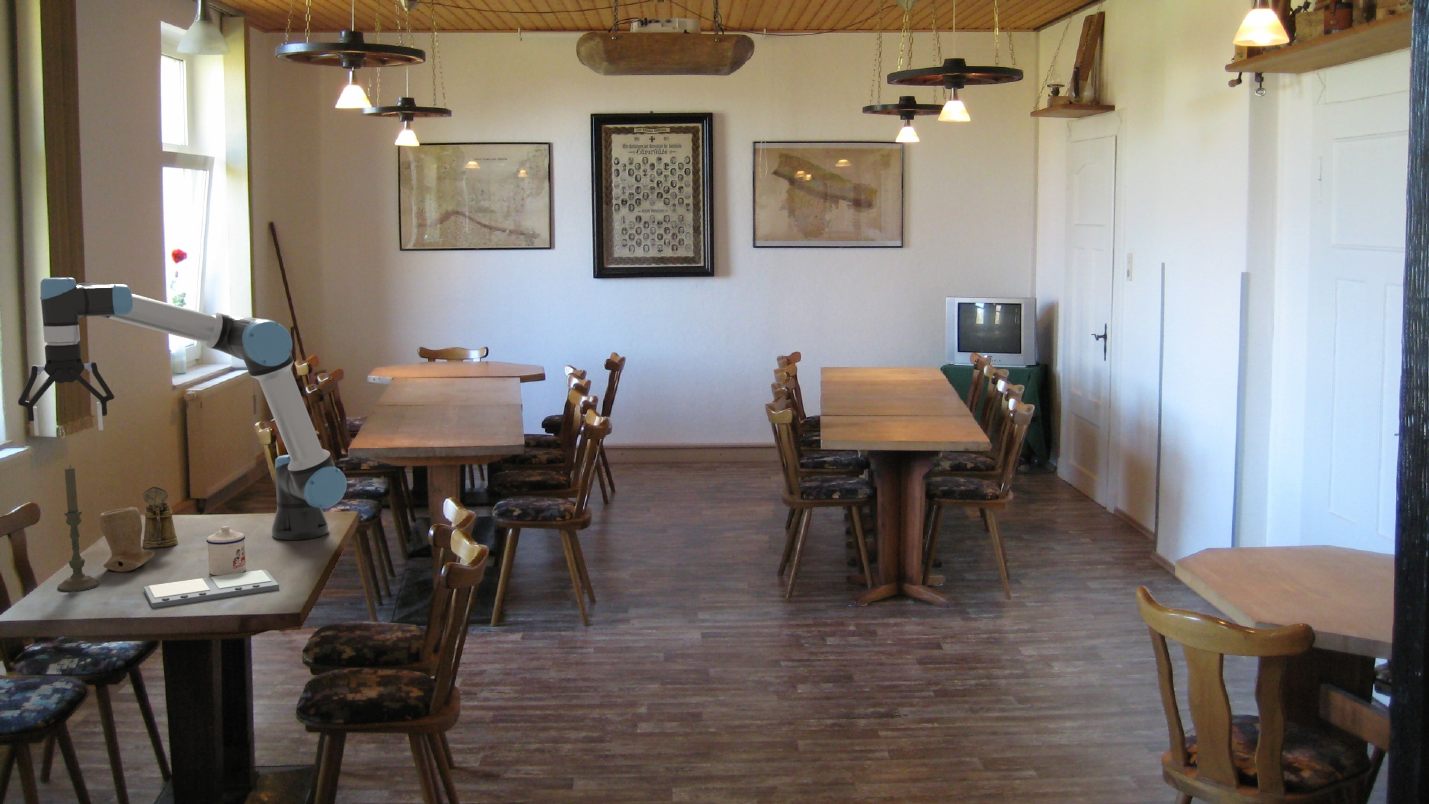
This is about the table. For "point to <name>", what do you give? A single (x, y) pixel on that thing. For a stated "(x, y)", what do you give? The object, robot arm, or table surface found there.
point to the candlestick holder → (75, 539)
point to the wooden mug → (158, 520)
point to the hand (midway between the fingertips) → (69, 432)
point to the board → (210, 588)
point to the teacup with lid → (226, 552)
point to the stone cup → (124, 539)
